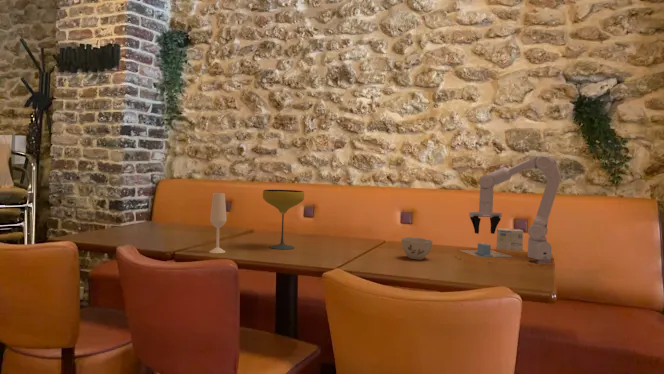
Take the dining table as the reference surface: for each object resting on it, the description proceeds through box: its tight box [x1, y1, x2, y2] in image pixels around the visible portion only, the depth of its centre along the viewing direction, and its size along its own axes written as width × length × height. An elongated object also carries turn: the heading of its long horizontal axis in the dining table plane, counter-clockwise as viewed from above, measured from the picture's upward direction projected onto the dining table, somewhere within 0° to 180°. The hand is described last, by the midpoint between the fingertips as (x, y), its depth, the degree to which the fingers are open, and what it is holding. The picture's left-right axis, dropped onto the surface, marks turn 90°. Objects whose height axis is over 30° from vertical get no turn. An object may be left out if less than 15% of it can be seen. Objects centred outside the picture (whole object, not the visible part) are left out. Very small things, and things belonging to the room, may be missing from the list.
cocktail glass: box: [262, 189, 305, 250], centre depth 236 cm, size 18×18×25 cm
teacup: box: [401, 236, 433, 261], centre depth 221 cm, size 15×12×8 cm
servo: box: [475, 242, 494, 258], centre depth 226 cm, size 9×3×6 cm, turn 13°
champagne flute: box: [209, 192, 228, 254], centre depth 219 cm, size 7×7×24 cm
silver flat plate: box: [459, 249, 514, 258], centre depth 230 cm, size 17×16×2 cm
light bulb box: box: [496, 227, 524, 252], centre depth 245 cm, size 11×7×11 cm, turn 84°
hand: (484, 233), depth 235 cm, fingers open, 7 cm apart
